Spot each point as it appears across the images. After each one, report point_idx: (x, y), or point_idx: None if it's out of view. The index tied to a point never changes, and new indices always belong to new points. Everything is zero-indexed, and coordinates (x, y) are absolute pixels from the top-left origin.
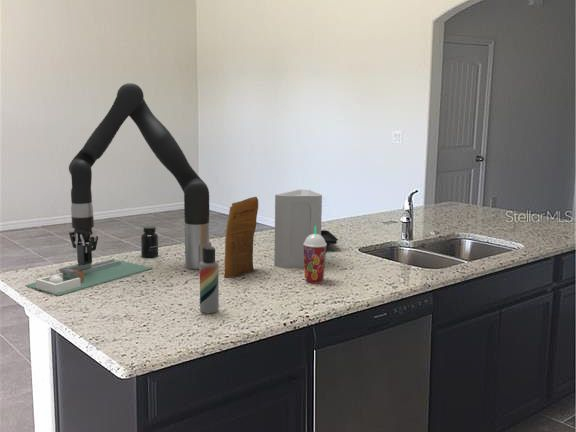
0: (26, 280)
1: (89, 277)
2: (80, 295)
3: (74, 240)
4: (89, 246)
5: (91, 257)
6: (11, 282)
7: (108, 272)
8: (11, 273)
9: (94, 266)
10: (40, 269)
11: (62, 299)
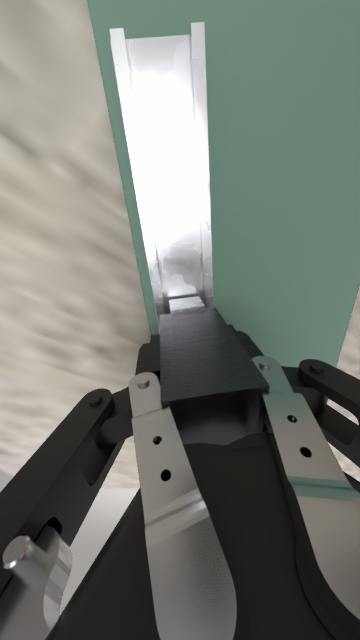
0: (125, 458)
1: (260, 339)
2: (352, 418)
3: (87, 493)
4: (336, 438)
5: (251, 341)
6: (118, 481)
7: (270, 243)
8: (17, 465)
9: (169, 259)
10: (10, 401)
11: (333, 449)
